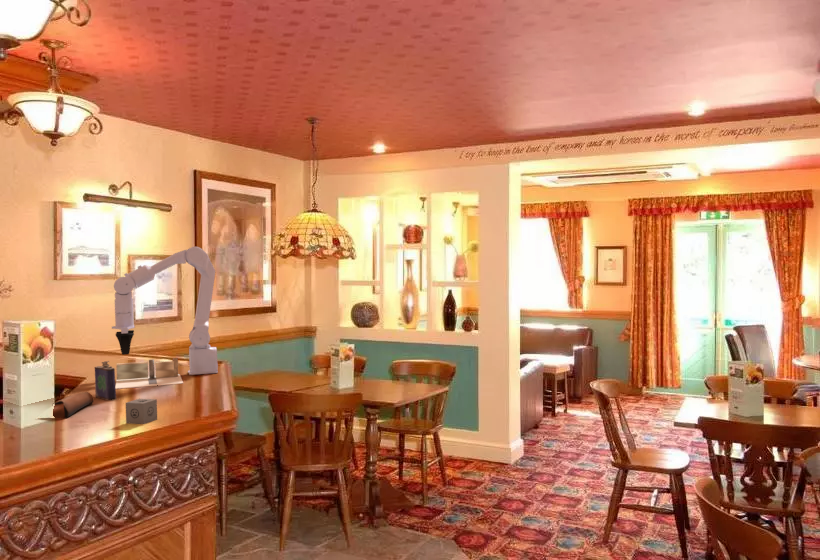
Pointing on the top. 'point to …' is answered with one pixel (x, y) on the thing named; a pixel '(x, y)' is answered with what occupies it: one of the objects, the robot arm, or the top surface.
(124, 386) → the card
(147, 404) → the grey face cube
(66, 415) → the sunglasses case
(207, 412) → the top surface
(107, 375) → the flask
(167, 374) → the base
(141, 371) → the panel
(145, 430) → the top surface
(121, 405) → the top surface
